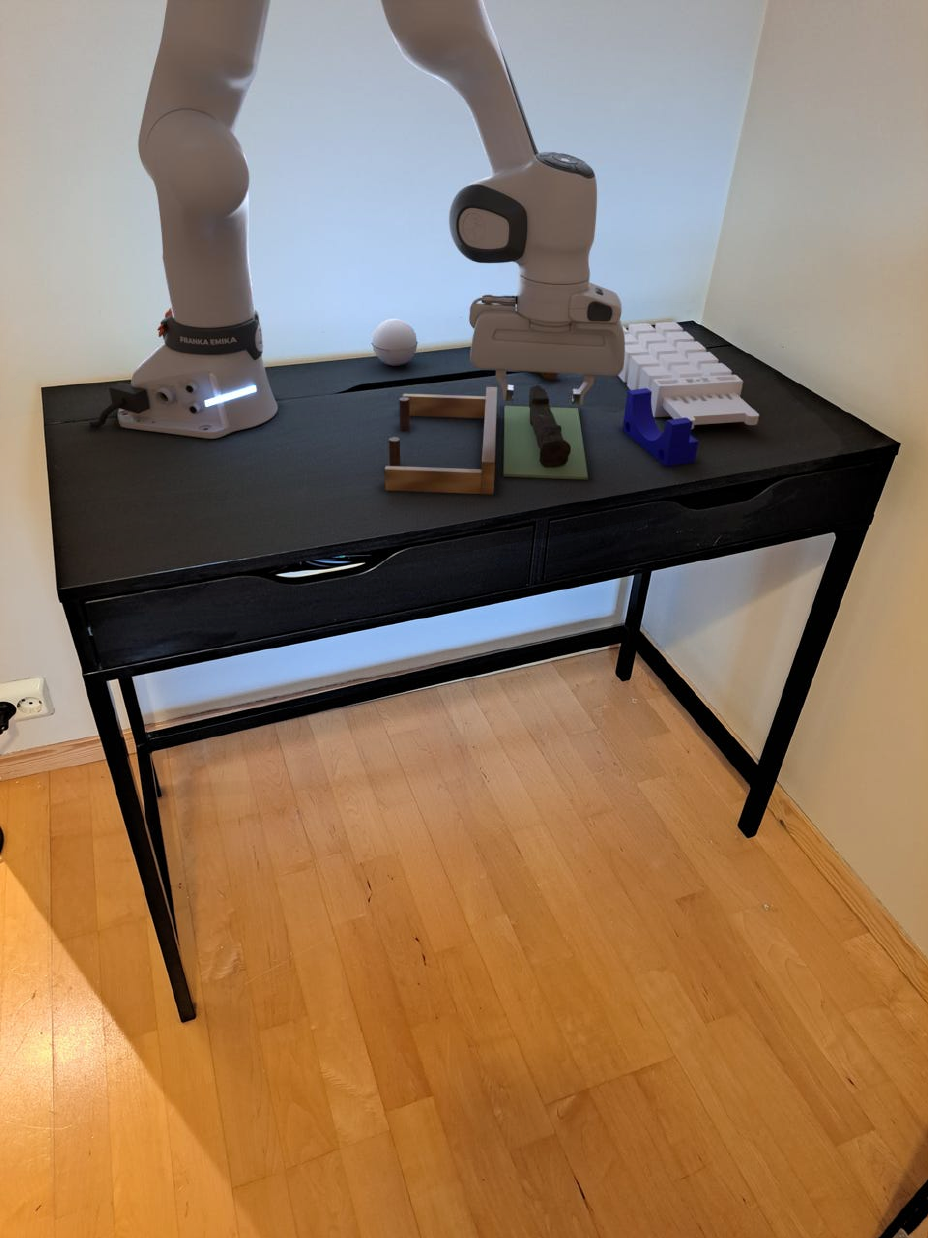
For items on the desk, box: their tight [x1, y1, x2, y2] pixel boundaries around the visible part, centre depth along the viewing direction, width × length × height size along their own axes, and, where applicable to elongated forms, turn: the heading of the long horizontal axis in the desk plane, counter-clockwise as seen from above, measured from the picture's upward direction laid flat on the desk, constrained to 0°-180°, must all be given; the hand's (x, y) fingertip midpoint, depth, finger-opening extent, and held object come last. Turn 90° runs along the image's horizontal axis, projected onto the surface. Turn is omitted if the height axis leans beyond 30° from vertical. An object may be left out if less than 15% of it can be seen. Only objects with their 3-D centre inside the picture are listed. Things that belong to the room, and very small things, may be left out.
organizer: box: [617, 321, 760, 430], centre depth 140 cm, size 13×5×35 cm
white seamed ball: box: [371, 318, 420, 367], centre depth 145 cm, size 10×7×7 cm
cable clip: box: [622, 388, 699, 467], centre depth 124 cm, size 12×4×6 cm, turn 21°
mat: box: [502, 405, 589, 481], centre depth 126 cm, size 11×22×1 cm, turn 178°
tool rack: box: [384, 386, 498, 495], centre depth 122 cm, size 14×24×4 cm, turn 178°
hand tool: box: [528, 384, 571, 468], centre depth 125 cm, size 19×4×5 cm, turn 3°
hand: (542, 401), depth 122 cm, fingers open, 8 cm apart
